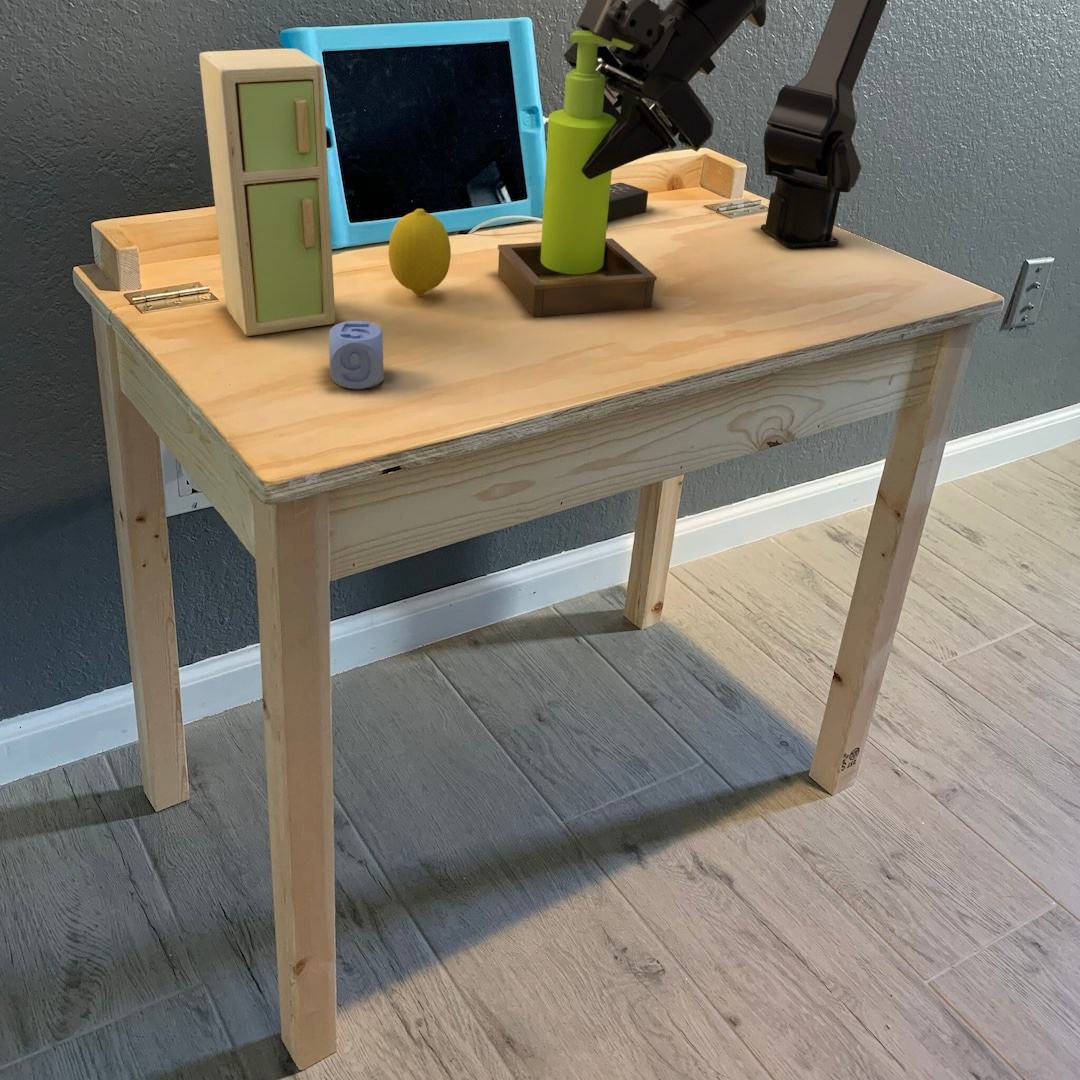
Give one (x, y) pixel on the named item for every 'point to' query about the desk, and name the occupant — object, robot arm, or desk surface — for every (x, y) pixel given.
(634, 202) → the multiport hub
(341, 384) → the decorative dice
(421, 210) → the lemon
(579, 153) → the soap dispenser
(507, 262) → the brown wooden tray
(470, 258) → the desk surface
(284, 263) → the toy refrigerator
